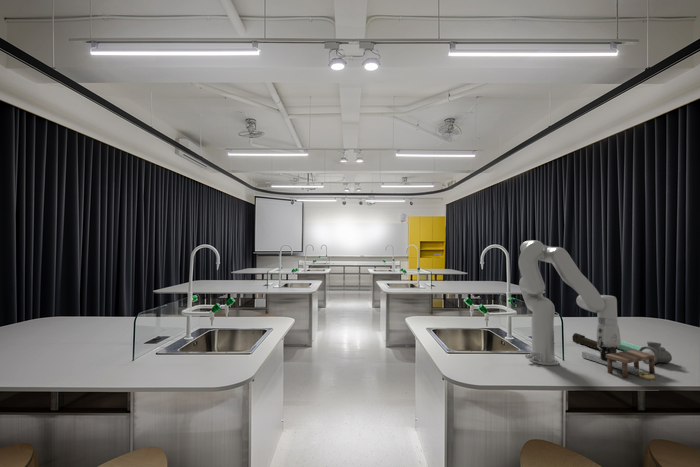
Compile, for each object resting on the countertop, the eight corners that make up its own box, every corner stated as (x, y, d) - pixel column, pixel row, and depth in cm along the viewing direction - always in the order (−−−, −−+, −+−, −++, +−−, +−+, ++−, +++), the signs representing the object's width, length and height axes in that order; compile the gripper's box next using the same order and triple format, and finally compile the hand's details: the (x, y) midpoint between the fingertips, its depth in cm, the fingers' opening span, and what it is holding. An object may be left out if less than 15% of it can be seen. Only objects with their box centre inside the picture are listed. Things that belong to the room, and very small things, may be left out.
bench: (626, 379, 139) (625, 360, 139) (606, 372, 146) (605, 354, 147) (656, 373, 145) (655, 354, 145) (635, 366, 153) (634, 349, 153)
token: (645, 380, 138) (644, 376, 138) (636, 375, 143) (635, 371, 143) (658, 380, 137) (657, 376, 137) (648, 376, 142) (648, 372, 142)
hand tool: (613, 353, 172) (612, 343, 173) (604, 353, 172) (604, 343, 172) (577, 341, 195) (577, 332, 195) (570, 341, 194) (570, 332, 194)
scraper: (635, 374, 142) (634, 355, 143) (581, 357, 165) (580, 340, 165) (640, 373, 144) (639, 354, 144) (586, 356, 166) (585, 339, 167)
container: (655, 347, 163) (607, 333, 188) (647, 352, 162) (599, 337, 187) (659, 358, 163) (611, 342, 188) (651, 363, 162) (603, 347, 187)
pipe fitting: (655, 365, 153) (655, 343, 154) (638, 361, 160) (637, 340, 162) (676, 367, 154) (675, 345, 156) (658, 362, 162) (657, 341, 164)
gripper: (603, 324, 149) (604, 365, 148) (627, 321, 154) (629, 361, 154) (587, 321, 156) (588, 359, 155) (610, 318, 161) (612, 356, 161)
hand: (608, 360), depth 154 cm, fingers closed on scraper, 3 cm apart
